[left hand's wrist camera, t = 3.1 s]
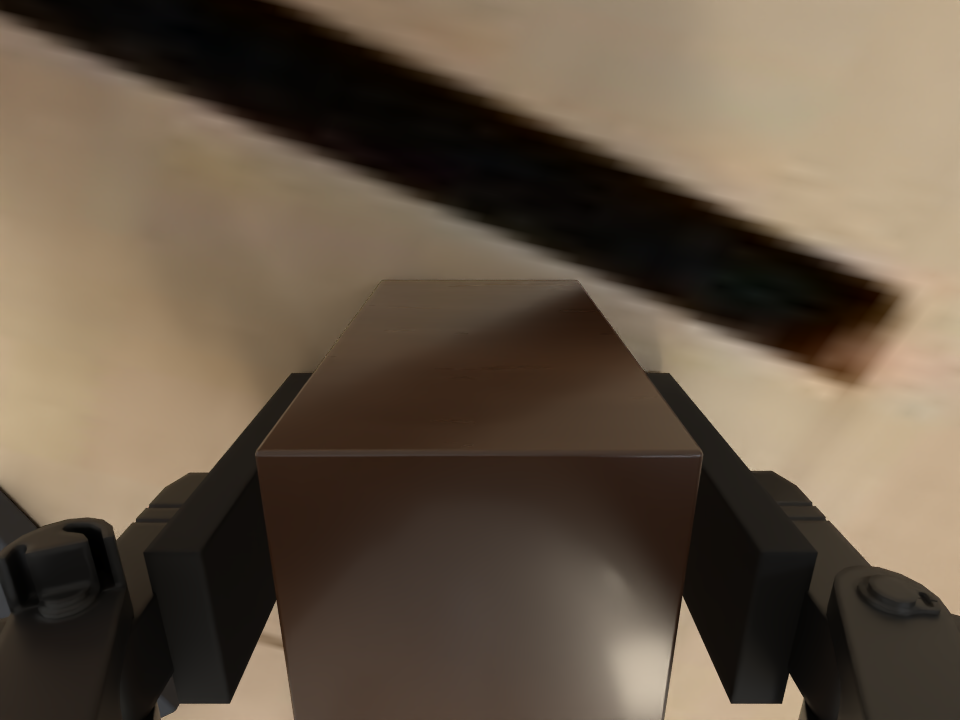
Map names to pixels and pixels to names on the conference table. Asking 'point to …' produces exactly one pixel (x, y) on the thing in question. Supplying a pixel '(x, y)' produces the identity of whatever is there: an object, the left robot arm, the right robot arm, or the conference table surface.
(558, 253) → the conference table surface
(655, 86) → the conference table surface
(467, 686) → the beam
